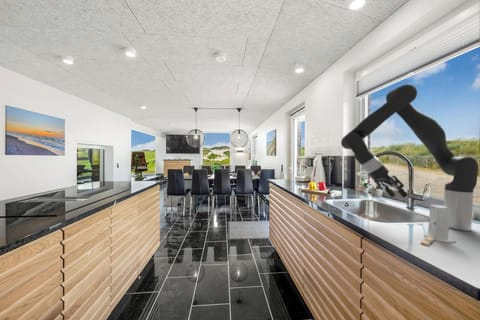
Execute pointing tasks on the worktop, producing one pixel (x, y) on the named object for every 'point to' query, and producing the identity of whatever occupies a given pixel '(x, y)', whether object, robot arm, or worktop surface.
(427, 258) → the worktop surface
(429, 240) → the wooden slat
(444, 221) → the skincare box
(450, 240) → the white shallow dome
